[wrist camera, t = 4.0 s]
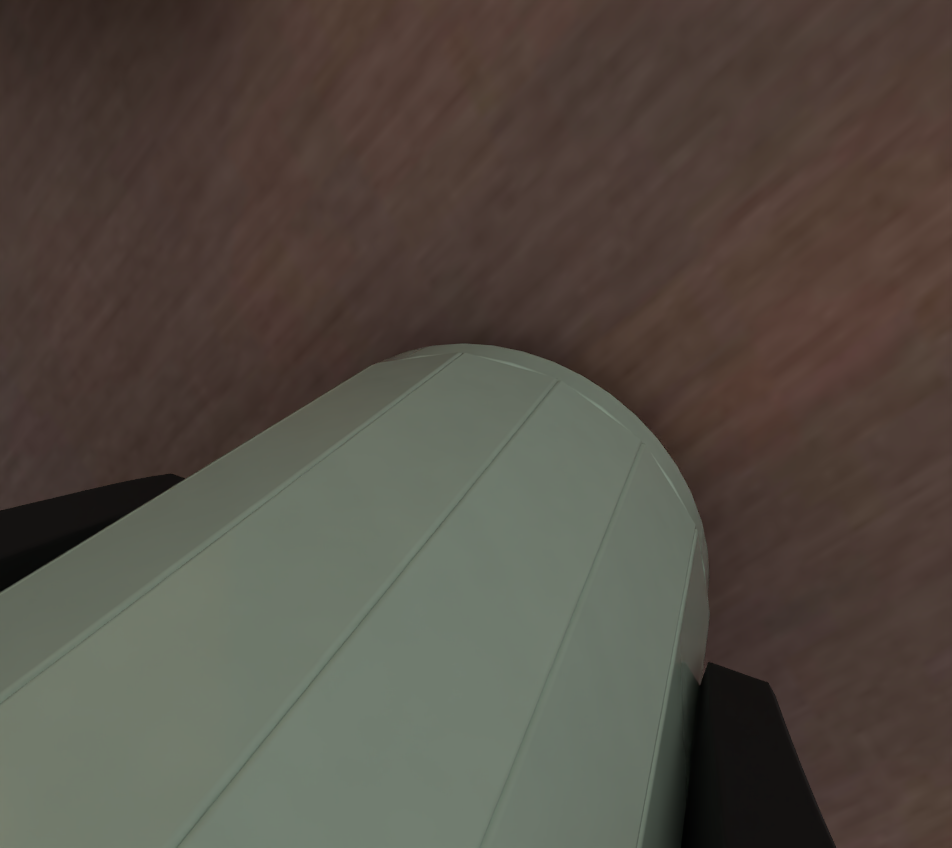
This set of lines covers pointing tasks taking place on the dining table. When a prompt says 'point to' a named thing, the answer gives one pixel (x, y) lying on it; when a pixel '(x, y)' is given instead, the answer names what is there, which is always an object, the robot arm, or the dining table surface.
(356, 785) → the cup
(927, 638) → the dining table surface
